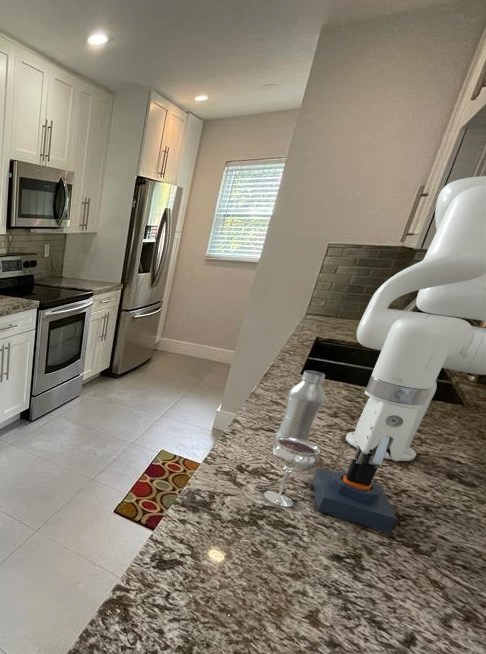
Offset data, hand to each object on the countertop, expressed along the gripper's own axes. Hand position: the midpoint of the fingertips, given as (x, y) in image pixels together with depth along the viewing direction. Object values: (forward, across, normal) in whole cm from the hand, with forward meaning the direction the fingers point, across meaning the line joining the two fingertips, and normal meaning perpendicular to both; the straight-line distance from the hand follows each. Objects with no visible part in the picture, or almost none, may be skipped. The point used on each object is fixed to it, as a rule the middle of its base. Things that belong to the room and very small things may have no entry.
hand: (357, 481), depth 77 cm
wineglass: (+6, -6, +11) cm, 14 cm away
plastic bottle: (+5, +17, +9) cm, 20 cm away
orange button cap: (+2, 0, 0) cm, 2 cm away
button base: (+5, 0, 0) cm, 5 cm away
